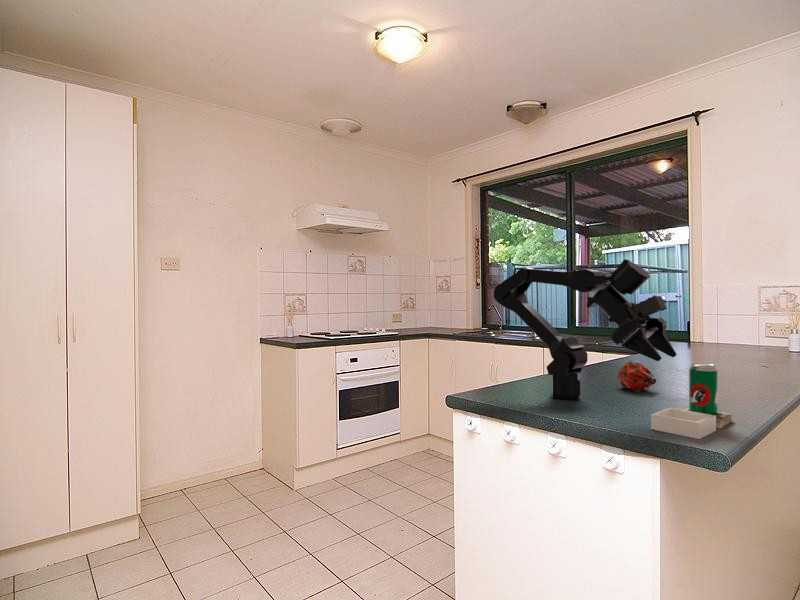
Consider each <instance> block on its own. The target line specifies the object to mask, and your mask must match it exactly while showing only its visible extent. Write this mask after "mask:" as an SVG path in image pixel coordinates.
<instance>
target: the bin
mask: <svg viewBox="0 0 800 600" xmlns="http://www.w3.org/2000/svg"><path fill="white" fill-rule="evenodd" d="M650 415H651V417H650V418H651V421H650V422H651V423H650V425H651V426H650V427H651V430H653V429H654V430H655V431H658V432H663V433H669V434H673V435H678V436H683V437H688V438H691V439H696V440H697V439H698V440H701V439H703V438H705V437H706V436H709V435H711V434H713V433H715V432H716V431H717V428H716V415H710V414H704V413H698V412H693V411H687V410H683V409H680V408H674V407H668V408H665V409H662V410H659V411H657V412H654V413H651V414H650Z"/></svg>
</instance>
